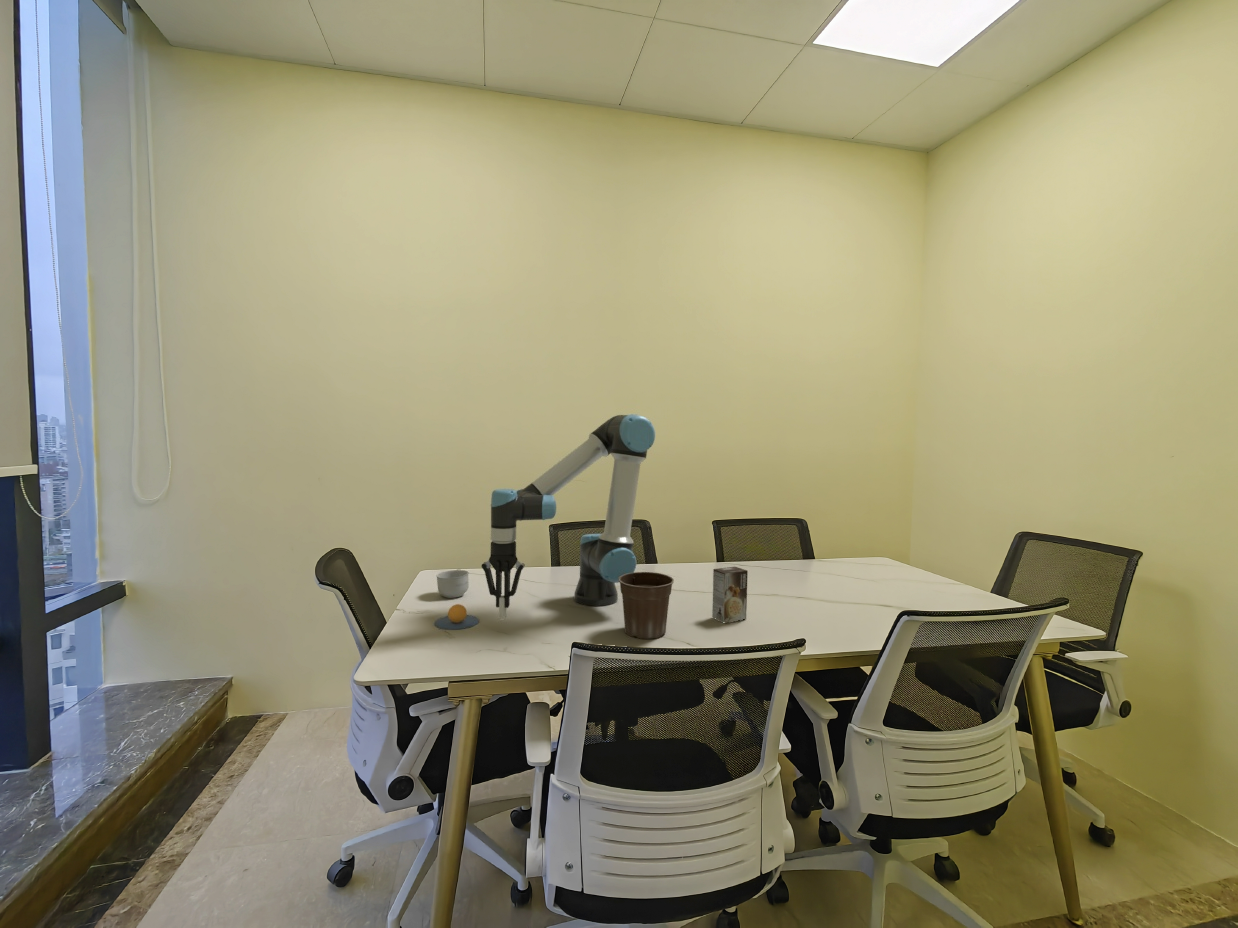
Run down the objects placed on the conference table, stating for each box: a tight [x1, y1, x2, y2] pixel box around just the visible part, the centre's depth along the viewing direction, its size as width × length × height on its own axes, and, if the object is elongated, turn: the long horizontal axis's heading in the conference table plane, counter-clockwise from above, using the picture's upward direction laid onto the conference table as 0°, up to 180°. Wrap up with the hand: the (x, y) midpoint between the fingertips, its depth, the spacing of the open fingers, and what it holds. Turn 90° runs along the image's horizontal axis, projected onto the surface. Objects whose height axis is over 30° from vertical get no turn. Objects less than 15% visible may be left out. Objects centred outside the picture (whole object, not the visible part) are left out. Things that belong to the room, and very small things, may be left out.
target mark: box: [434, 614, 480, 631], centre depth 175 cm, size 13×13×1 cm
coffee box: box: [711, 566, 749, 623], centre depth 184 cm, size 9×6×16 cm
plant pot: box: [618, 571, 675, 640], centre depth 170 cm, size 16×16×16 cm
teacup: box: [436, 568, 470, 599], centre depth 203 cm, size 14×11×8 cm
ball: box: [447, 603, 468, 623], centre depth 175 cm, size 6×6×6 cm
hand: (502, 617), depth 175 cm, fingers closed
